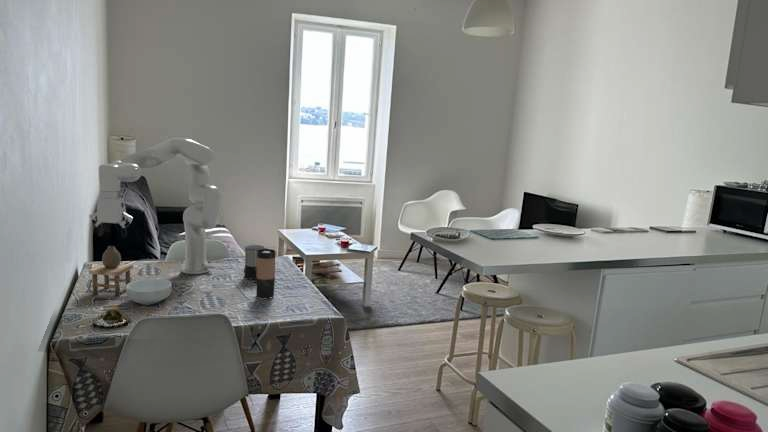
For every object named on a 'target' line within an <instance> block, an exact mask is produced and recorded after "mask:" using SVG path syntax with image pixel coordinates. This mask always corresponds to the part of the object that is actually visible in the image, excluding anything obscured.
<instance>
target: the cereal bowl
mask: <svg viewBox="0 0 768 432" xmlns="http://www.w3.org/2000/svg"><path fill="white" fill-rule="evenodd" d="M125 292H126V295H127V298H128V299H130V301H132V302H135V303H138V304H141V305H154V304H155V305H156V304H158V303H159V302H160V301H163V300H166V299H167V298H168V297H169V295H170V294H171V292H172V282H171V281H170V280H168V279H163V278H144V279H138V280H133V281H130V283H129V284H127V285H126V284H125Z"/></svg>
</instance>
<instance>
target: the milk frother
mask: <svg viewBox="0 0 768 432" xmlns="http://www.w3.org/2000/svg"><path fill="white" fill-rule="evenodd" d="M261 249H268V248H265V246H264V245H260V244H258V245H257V244H249V245H245V246H244V268H243V271H244V275H243V278H245V279H246V278H251V279H250V280H253V279H254V280H256V276H257V251H258V250H261Z"/></svg>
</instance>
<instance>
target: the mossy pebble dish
mask: <svg viewBox="0 0 768 432" xmlns="http://www.w3.org/2000/svg"><path fill="white" fill-rule="evenodd" d="M101 319H103V320H104V321H105V322H106V323H107V324H114V323H118V322H123V319H124V320H126V321H125V323H122V324H119V326H123V325H124V324H126V325H127V324H128V323H129V322H130V323H131V316H129V315H127V314H123V313H121V309H120V308H119V307H116V306H111V307H109V308H108V309H106V311H105V314H102V313H101V314H100V315H98V317H96V318H95V319H93V322H92V325H93V324H94V325H93V326H95V325H96V326H98V327H101V325H97V324H96V322H97V321H98V320H101ZM130 323H129V324H130ZM112 326H114V327H119V326H118V325H112ZM112 326H104V327H105V328H113V327H112ZM104 327H103V328H104Z"/></svg>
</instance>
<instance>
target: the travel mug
mask: <svg viewBox="0 0 768 432" xmlns="http://www.w3.org/2000/svg"><path fill="white" fill-rule="evenodd" d="M275 277H276V250H275V249H271V248H270V249H269V248H267V249H261V250H258V251H257V276H256V279H255V280H256V281H255V282H256V285H255V286H256V298H257V297H259V298H270V297H273V296H274V295H275V283H276V282H275V281H276V280H275V279H276V278H275ZM259 298H258V299H259ZM273 298H274V297H273Z"/></svg>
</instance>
